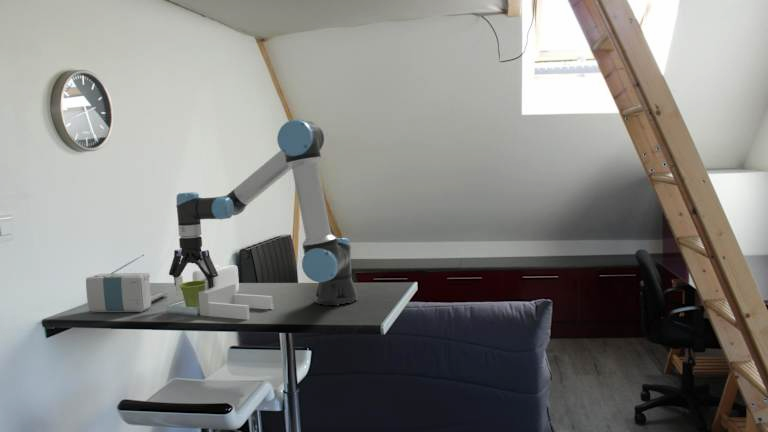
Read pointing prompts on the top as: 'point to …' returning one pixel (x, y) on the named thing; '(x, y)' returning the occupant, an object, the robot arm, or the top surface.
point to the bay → (231, 302)
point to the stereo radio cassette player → (118, 292)
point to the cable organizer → (220, 276)
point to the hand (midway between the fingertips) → (194, 296)
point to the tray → (183, 309)
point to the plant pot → (192, 292)
